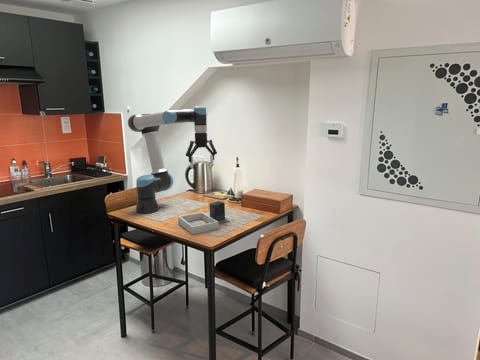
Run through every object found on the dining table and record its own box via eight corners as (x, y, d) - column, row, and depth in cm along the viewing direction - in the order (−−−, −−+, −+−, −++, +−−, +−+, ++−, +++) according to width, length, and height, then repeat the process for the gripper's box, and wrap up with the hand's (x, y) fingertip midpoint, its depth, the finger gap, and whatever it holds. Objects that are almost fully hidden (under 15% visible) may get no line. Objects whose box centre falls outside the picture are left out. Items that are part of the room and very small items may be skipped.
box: (219, 216, 217) (218, 200, 215) (225, 218, 213) (225, 202, 211) (209, 220, 211) (209, 203, 209) (215, 222, 207) (215, 205, 205)
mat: (206, 219, 215) (206, 218, 215) (220, 216, 220) (220, 215, 220) (214, 224, 205) (214, 223, 205) (229, 221, 210) (229, 220, 210)
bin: (178, 222, 209) (178, 216, 208) (202, 218, 217) (202, 211, 216) (192, 234, 191) (192, 227, 190) (218, 228, 198) (218, 221, 198)
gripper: (183, 133, 202) (185, 169, 206) (221, 131, 214) (222, 165, 219) (179, 132, 208) (180, 167, 213) (216, 130, 220) (217, 163, 225)
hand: (202, 166), depth 216 cm, fingers open, 13 cm apart
